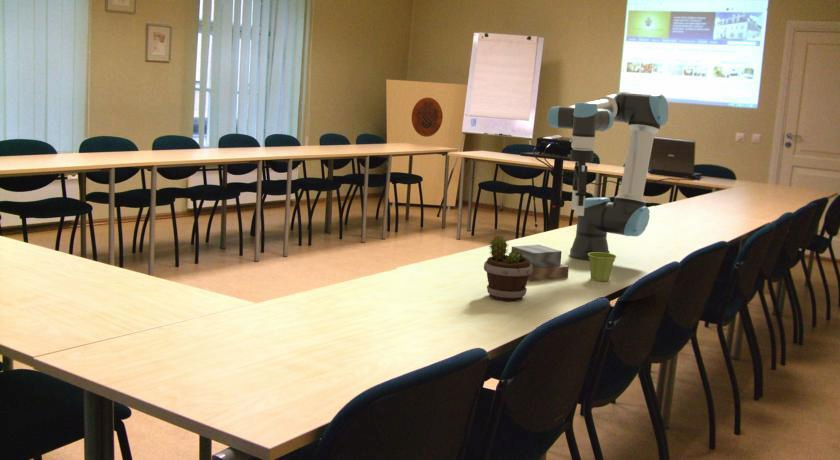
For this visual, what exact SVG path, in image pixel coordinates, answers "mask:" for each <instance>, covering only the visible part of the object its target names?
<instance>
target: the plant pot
mask: <svg viewBox="0 0 840 460" xmlns="http://www.w3.org/2000/svg"><path fill="white" fill-rule="evenodd" d="M588 256H589V270H590V280H593V281H595V282H603V283H604V282H608V281H610V277H611V273H612V268H613V266H614V262H615V259H616V258H617V255H615V254H614V253H611V252H610V253H602V252H591V253H588Z"/></svg>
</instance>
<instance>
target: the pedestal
mask: <svg viewBox="0 0 840 460" xmlns="http://www.w3.org/2000/svg"><path fill="white" fill-rule="evenodd" d="M515 248H517V250H518V251H519V252H520V253H523V254H522V255H523V257H525V258H527V259H528V260H529V262H530V264H532V266H533V270H532V273H531V274H530V275H529V278H528V281H527V282H539V281H540V282H541V281H552V280H560V279H568V278H569V269H570V267H569V266H568V265H566V264H563V263H562V254H563V253H562V252H563V251H562V250H558V249H557V248H556V249H555V248H552V247H549V246H545V245H541V244H530V245H529V244H528V245H517V246H511V251H513V250H514V249H515ZM520 249H522V250H520ZM517 250H514V251H517Z"/></svg>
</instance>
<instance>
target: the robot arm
mask: <svg viewBox="0 0 840 460" xmlns="http://www.w3.org/2000/svg"><path fill="white" fill-rule="evenodd" d="M668 119H669V105H668V100H667V98H666V97H665V95H664V94H662V93H658V92H657V93H655V92H633V91H631V92H630V91H623V92H616V93H611V94H607V95H602V96H601V97H598V98H597V99H596V100H592V101H586V102H582V101H580V102H579V101H578V102H576V103H575V104H573V105H567V106H566V105H565V106H561V105H558V106H551V108H549V110H548V112H547V124H548V125H549V127H551V128H553V129H554V128H555V129H565V130H566V129H567V130H572V133H571V137H572V138H570V139H569V142H571V148H572V149H571V150H570V157H569V160H570V161H573V162H575V163H574V168H573V170H574V171H573V178H572V187H571V188H572V194H571V195H572V196H571V205H570V206H571V208H570V209H571V210H574V211H575V212H574V216H577V218H576V229H575V230H576V231H575V233H576V234H575V237H574V240H573V242H572V247H570V250H569V256H570V257H572V258H576V259H580V260H586V261H588V260H589V256H588V253H591V252H602V253H610V254H611V252H610V250H609V244H608V238H607V237H608V234H613V235H621V236H625V237H639V236H642V234H643V233H644V232H645V231H646V229H647V227H648V224H649V221H650V209H649V207H647V204H646V203H647V201H646V200H645V199H644V192H645V187H646V183H647V177H648V171H649V166H650V165H649V164H650V159H651V154H652V150H653V149H652V148H653V144H654V141H655V140H654V139H655V135H656V134H657V133H658V132H660V128H661V127H662V126H665V125H666V124H667V122H668ZM614 122H617V123H618V122H619V123H626V124H627V127H628V129H629V130H630V137H629V141H628V146H627V153H626V156H625V157H626V158H625V163H624V168H623V172H622V173H623V174H622V178H621V184H620V189H619V193H618V194H617V195H615V196H614V199H613V202H612V201H611V198H609V197H600V196H599V197H586V195H587V177H588V165H586V164H587V163H592V162H593V161H594V153H595V152H594V149H595V143H596V132H604V131H609V130H610V129H611V128H612V127H613V125H614ZM589 261H590V260H589Z"/></svg>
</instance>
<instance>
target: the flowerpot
mask: <svg viewBox="0 0 840 460" xmlns="http://www.w3.org/2000/svg"><path fill="white" fill-rule="evenodd" d="M494 234H495V235H494V236H493V238H491V239H490V242H489V246H488V249H489V251H490V252H488V253H489V254H491V256H489V257H488V258H487V260H486V261H485V262H484V263H483V270H484V272H486V277H487V282H488V284H487V285H486V289H487V293H488V295H489V297H490V298H491V299H495V300H498V301H501V300H502V301H503V302H504V301H505V302H512V301H513V302H517V301H521V300H523V298H524V297H525V296H526V293H527V291H528V289H527V287H526V286H527V285H528V282H529V281H528V278H529V275H530V274H531V273H532V270H533V266H532V264H530V262H529V260H528V259H527V258H525V257H523V255H522V254H523V253H520V252H519V251H518V250H517V248H515V249H514V250H517V251H514V250H513V251H512V250H511V251H510V252H508V249H507V248H508V242H509V241H508V240H507V239H506V237H505V235H504V233H502V234H500V233H499V231H497V234H496V233H494ZM520 250H522V249H520ZM502 301H501V302H502Z"/></svg>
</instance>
